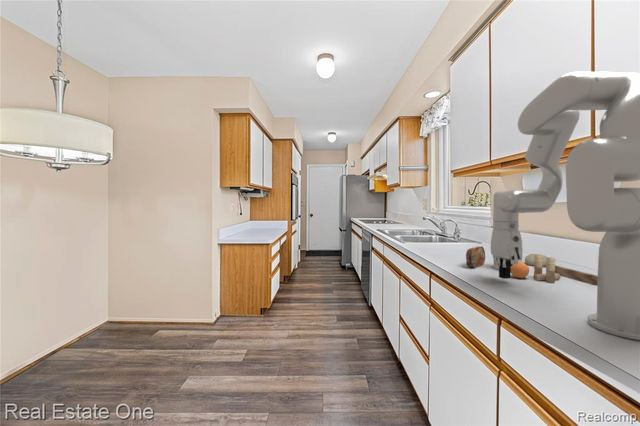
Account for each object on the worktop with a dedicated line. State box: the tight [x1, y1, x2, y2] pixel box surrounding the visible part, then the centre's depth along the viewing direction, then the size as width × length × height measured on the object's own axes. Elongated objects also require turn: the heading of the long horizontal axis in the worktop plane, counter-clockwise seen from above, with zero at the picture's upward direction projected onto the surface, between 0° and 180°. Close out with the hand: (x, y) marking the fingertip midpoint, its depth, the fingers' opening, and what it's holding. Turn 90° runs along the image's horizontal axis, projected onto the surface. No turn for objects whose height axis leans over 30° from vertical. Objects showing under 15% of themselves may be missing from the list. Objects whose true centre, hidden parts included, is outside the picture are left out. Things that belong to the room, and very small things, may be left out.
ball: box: [511, 261, 530, 279], centre depth 108 cm, size 6×6×6 cm
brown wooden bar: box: [555, 264, 598, 286], centre depth 106 cm, size 20×2×3 cm, turn 6°
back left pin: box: [533, 254, 543, 276], centre depth 107 cm, size 2×2×8 cm
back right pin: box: [545, 256, 556, 284], centre depth 102 cm, size 2×2×8 cm
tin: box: [465, 246, 486, 269], centre depth 128 cm, size 15×3×8 cm, turn 131°
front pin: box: [533, 273, 561, 282], centre depth 105 cm, size 2×2×8 cm
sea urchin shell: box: [524, 253, 547, 268], centre depth 129 cm, size 9×8×8 cm
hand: (504, 277), depth 103 cm, fingers closed
